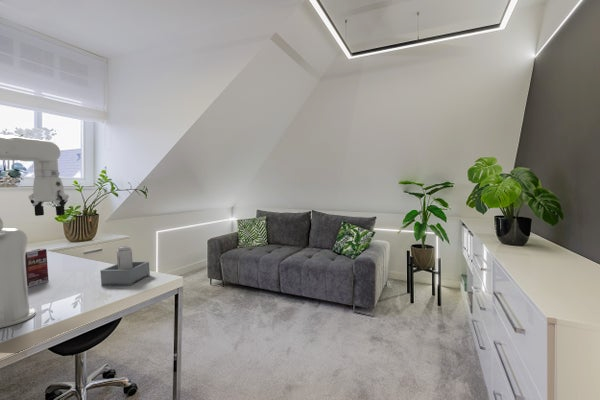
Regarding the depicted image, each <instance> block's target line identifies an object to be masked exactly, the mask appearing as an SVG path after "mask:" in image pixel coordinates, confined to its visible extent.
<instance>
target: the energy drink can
mask: <svg viewBox="0 0 600 400" xmlns="http://www.w3.org/2000/svg"><path fill="white" fill-rule="evenodd" d="M116 257H117V258H116V260H117V261H116V262H117V264H118V270H130V269H132V268H133V262H134V261H133V250H132V248H131V246H130V245H123V246H118V247H117V250H116Z"/></svg>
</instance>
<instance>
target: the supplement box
mask: <svg viewBox="0 0 600 400" xmlns="http://www.w3.org/2000/svg"><path fill="white" fill-rule="evenodd" d="M47 254H48V253H47V248H38V249H37V248H36V249H31V250H28V251H27V250H26V254H25V266H26V277H27V288H31V287H34V286H37V285H40V284H44V283H47V282H49V269H48V268H49V267H48V256H47Z"/></svg>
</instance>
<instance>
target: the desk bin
mask: <svg viewBox="0 0 600 400" xmlns="http://www.w3.org/2000/svg"><path fill="white" fill-rule="evenodd" d="M132 262H133V268H132V269H130V270H118V263H116V264H113V265H111V266H109V267H106V268H104V269H100V283H101V284H100V285H101V286H106V287H107V286H108V287H110V286H115V287H117V286H118V287H120V286H121V287H122V286H123V287H128V286H129V287H131V286H133V285H135V284H136V283H139V282H140V281H141V280H143V279H146V278H148V277H149V276H150V274H151V272H150V271H151V270H150V261H132Z"/></svg>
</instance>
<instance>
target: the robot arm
mask: <svg viewBox="0 0 600 400" xmlns="http://www.w3.org/2000/svg"><path fill="white" fill-rule="evenodd" d="M60 157H61V149H60V147H59V146H58V145H57V144H56V143H54V142H53V141H47V140H43V139H42V140H41V139H36V138H28V137H27V138H26V137H19V136H13V135H4V134H0V161H20V162H33V171H34V173H33V174H34V178H33V184H32V185H33V187H32V188H33V189H32V193H31V194H30V195H28V199H29V201H30V203H31V204H32V206H33V209H34V216H36V217H38V216H39V217H41V216H44V215H45V212H44V205H43V204H44V203H45V202H47V203H49V202H50V203H51V202H53V203H54V204H55V205H56V206H55V213H56V216H58V217H59V216H65V213H66V212H65V206H66V205H67V202H68V199H69V197H70V195H69V194H67V193H65V189H64V184H63V181H62V178H61V177H60V174H61V173H60V172H59V163H58V160H59V158H60ZM27 246H28V237H27V234H26V233H25V231H23V230H21V229H18V228H15V227H14V228H13V227H12V228H10V227H9V228H7V227H4V222H3V220H2V218H1V217H0V329H2V328H7V327H10V326H14V325H17V324H21V323H23V322H25V321H27V320H30V319H31V318H33V317H34V316H35V315H36V314H37V313H36V311H37V310H36V309H34V308H30V303H29V290H28V287H27V277H26V266H25V254H26V251H27Z"/></svg>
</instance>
